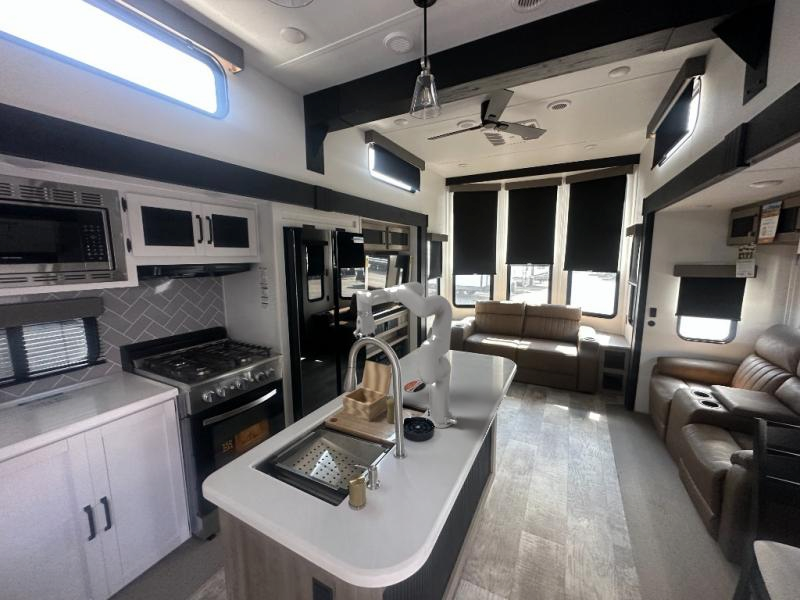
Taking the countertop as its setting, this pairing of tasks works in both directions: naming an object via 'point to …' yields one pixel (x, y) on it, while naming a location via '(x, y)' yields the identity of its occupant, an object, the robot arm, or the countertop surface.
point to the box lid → (377, 377)
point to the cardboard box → (365, 403)
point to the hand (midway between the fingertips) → (366, 343)
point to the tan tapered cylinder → (390, 411)
